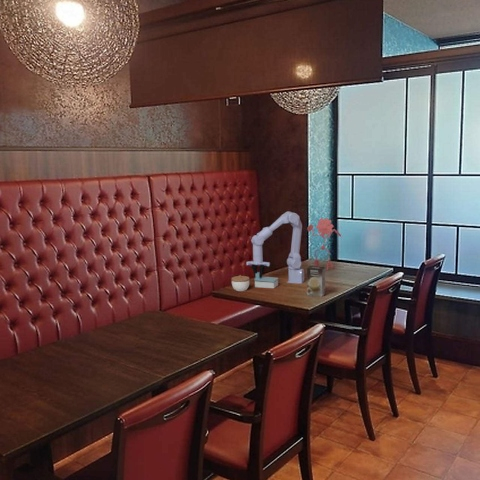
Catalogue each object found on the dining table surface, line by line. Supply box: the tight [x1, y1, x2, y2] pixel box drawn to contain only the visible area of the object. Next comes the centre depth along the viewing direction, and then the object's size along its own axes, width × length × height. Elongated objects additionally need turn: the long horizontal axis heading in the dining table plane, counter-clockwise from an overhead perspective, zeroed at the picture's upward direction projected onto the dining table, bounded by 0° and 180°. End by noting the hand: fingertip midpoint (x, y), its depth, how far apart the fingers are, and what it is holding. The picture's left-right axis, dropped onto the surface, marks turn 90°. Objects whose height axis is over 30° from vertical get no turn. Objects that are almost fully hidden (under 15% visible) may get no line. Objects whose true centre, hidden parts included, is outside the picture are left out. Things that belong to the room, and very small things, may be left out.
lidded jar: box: [231, 274, 250, 292], centre depth 312 cm, size 11×11×9 cm
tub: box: [254, 279, 279, 289], centre depth 319 cm, size 12×8×4 cm, turn 67°
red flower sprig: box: [307, 217, 342, 271], centre depth 361 cm, size 15×26×35 cm, turn 54°
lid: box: [253, 271, 279, 282], centre depth 318 cm, size 13×9×4 cm
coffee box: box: [306, 265, 326, 298], centre depth 297 cm, size 9×6×16 cm
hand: (258, 277), depth 320 cm, fingers closed on lid, 2 cm apart
